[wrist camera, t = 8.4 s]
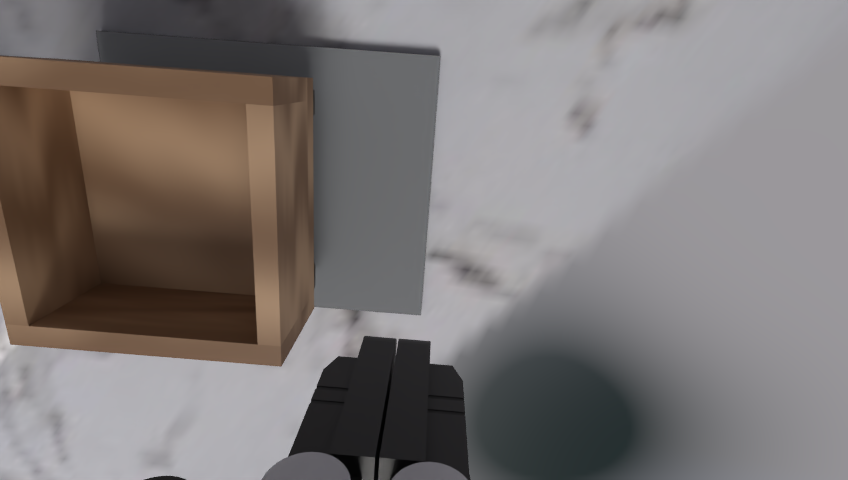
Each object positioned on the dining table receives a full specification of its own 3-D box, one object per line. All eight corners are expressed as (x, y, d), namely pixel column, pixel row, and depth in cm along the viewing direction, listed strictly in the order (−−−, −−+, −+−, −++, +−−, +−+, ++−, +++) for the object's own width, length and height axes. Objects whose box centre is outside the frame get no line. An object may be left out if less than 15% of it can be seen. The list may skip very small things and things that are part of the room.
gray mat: (101, 31, 25) (96, 30, 25) (440, 56, 25) (440, 55, 24) (136, 289, 30) (132, 292, 29) (420, 312, 30) (420, 315, 29)
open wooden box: (100, 61, 25) (-61, 52, 17) (326, 78, 25) (272, 77, 17) (129, 271, 29) (10, 344, 21) (325, 287, 29) (281, 366, 21)
